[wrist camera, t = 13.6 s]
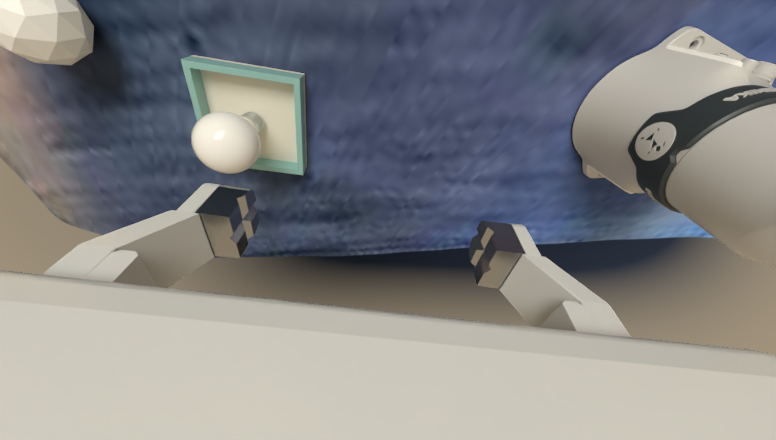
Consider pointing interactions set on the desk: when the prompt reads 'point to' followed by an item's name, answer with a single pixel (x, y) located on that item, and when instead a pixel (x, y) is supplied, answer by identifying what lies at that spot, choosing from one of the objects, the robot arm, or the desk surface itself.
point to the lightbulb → (227, 140)
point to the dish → (255, 105)
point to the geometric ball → (46, 30)
